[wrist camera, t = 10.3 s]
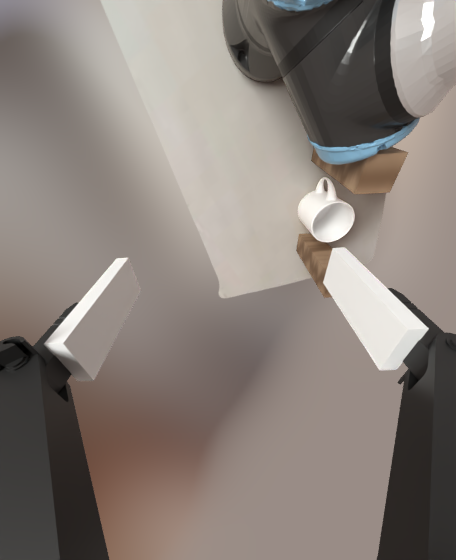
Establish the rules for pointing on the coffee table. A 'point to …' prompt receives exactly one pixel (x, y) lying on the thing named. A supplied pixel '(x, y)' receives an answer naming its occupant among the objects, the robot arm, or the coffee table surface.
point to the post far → (315, 259)
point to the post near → (367, 171)
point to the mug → (325, 213)
